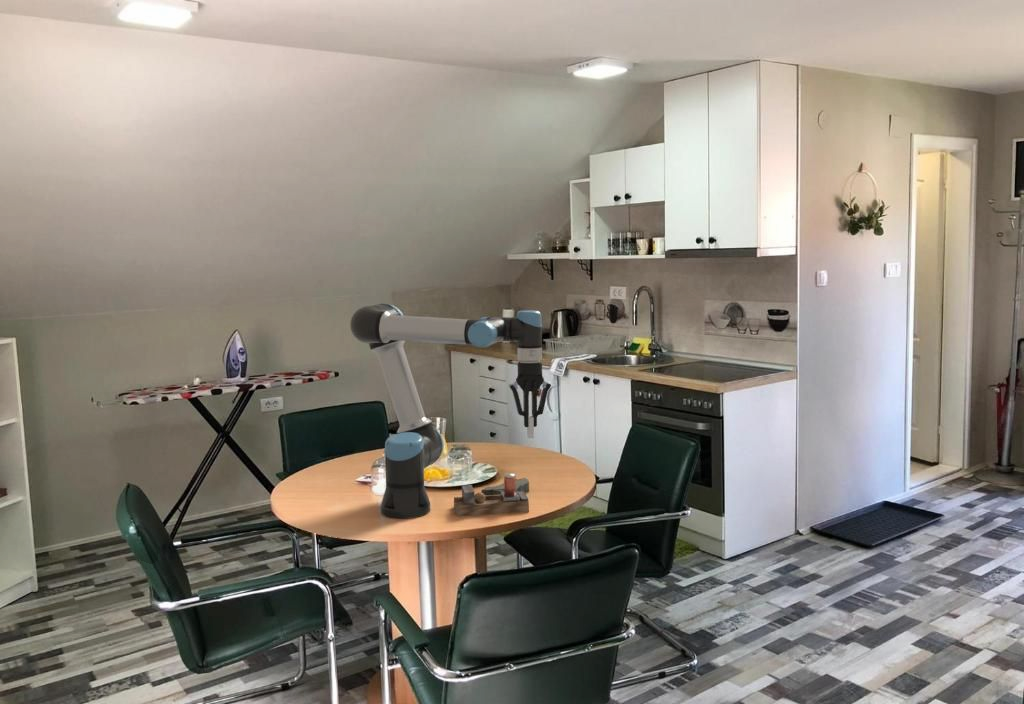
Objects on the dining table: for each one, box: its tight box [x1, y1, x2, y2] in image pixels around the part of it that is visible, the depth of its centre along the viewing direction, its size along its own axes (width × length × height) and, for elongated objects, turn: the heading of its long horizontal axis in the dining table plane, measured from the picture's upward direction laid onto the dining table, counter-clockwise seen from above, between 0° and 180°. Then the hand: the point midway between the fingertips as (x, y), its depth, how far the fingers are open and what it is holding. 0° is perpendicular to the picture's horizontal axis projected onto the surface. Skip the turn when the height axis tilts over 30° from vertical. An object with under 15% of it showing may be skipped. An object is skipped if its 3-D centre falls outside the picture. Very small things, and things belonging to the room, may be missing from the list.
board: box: [453, 484, 530, 517], centre depth 259 cm, size 22×10×7 cm, turn 99°
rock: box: [481, 477, 530, 495], centre depth 275 cm, size 12×16×5 cm
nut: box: [475, 491, 485, 504], centre depth 258 cm, size 4×4×4 cm
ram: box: [500, 472, 520, 502], centre depth 259 cm, size 5×7×8 cm
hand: (530, 437), depth 259 cm, fingers closed
